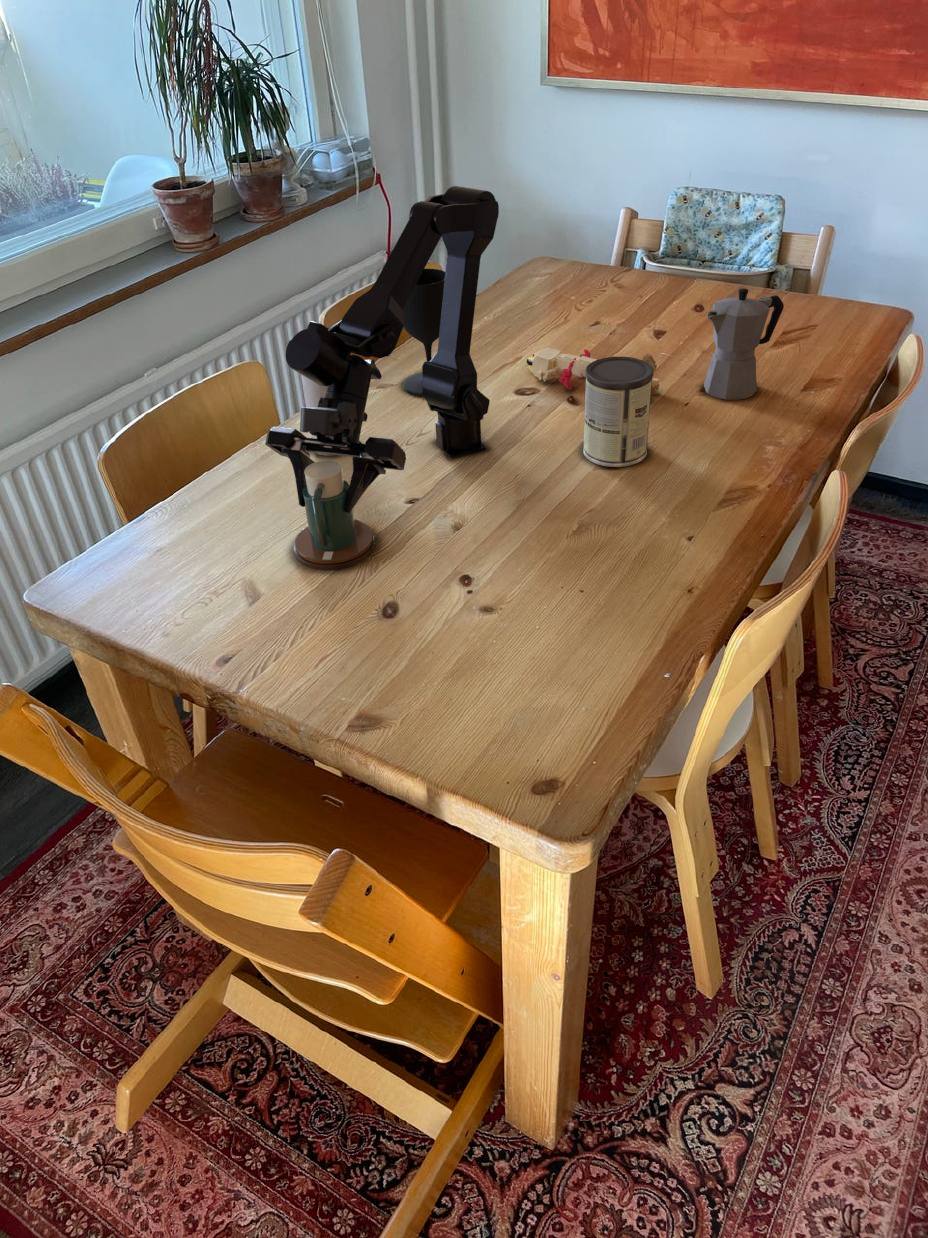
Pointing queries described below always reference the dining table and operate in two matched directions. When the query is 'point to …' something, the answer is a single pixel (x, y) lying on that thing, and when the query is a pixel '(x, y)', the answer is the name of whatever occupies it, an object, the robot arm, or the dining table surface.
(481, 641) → the dining table surface
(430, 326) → the wine glass
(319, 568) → the turntable
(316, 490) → the green cylinder with handle
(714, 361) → the coffeepot
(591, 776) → the dining table surface
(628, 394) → the coffee can
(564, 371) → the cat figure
